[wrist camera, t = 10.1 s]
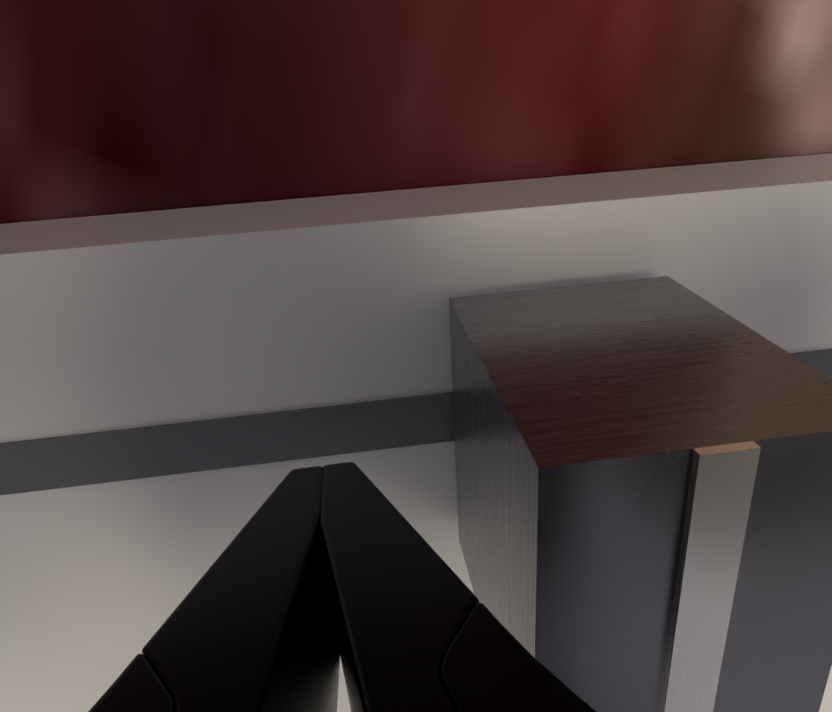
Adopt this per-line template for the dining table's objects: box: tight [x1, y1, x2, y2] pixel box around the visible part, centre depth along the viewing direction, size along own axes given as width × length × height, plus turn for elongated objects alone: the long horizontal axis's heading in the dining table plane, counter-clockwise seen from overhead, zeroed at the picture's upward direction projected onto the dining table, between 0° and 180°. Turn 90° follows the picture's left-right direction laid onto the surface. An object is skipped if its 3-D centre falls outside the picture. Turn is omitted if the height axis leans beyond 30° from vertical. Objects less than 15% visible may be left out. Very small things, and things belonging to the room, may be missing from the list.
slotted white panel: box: [0, 153, 832, 712], centre depth 13 cm, size 18×22×2 cm
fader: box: [449, 276, 832, 712], centre depth 8 cm, size 4×3×4 cm
